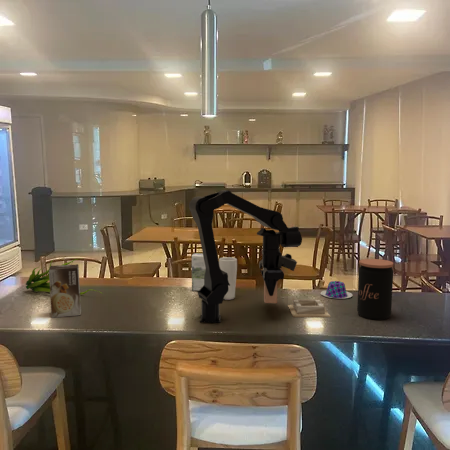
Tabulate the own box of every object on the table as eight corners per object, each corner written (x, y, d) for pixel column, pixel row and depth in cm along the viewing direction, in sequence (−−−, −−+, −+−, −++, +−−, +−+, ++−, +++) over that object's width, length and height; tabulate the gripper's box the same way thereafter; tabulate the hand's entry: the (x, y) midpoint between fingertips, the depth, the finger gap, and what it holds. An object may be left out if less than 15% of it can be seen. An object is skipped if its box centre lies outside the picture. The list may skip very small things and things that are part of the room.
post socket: (330, 317, 142) (330, 308, 142) (293, 317, 142) (293, 308, 141) (321, 306, 154) (321, 297, 153) (287, 306, 154) (287, 297, 153)
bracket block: (277, 303, 145) (277, 279, 144) (265, 303, 145) (265, 279, 144) (275, 299, 149) (275, 276, 148) (263, 299, 149) (264, 276, 148)
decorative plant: (55, 309, 151) (53, 267, 149) (24, 291, 172) (22, 255, 170) (103, 298, 163) (101, 260, 161) (68, 283, 184) (66, 249, 182)
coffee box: (81, 309, 149) (79, 263, 147) (80, 315, 143) (78, 267, 141) (52, 312, 147) (50, 265, 145) (50, 318, 140) (48, 269, 139)
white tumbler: (237, 295, 166) (237, 257, 165) (236, 301, 160) (236, 260, 158) (219, 295, 167) (219, 256, 165) (217, 300, 160) (217, 260, 158)
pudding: (333, 290, 176) (333, 277, 176) (359, 296, 167) (359, 283, 166) (314, 295, 169) (314, 281, 168) (339, 302, 160) (340, 288, 159)
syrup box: (207, 287, 178) (207, 253, 176) (205, 291, 172) (205, 255, 170) (194, 287, 178) (193, 252, 177) (191, 291, 172) (191, 255, 171)
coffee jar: (350, 312, 147) (352, 259, 145) (376, 308, 151) (378, 257, 149) (371, 322, 137) (373, 266, 135) (398, 318, 141) (401, 263, 139)
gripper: (300, 253, 136) (299, 302, 138) (290, 243, 154) (289, 286, 156) (264, 253, 136) (264, 302, 138) (259, 243, 154) (258, 286, 156)
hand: (270, 293), depth 147 cm, fingers closed on bracket block, 4 cm apart
